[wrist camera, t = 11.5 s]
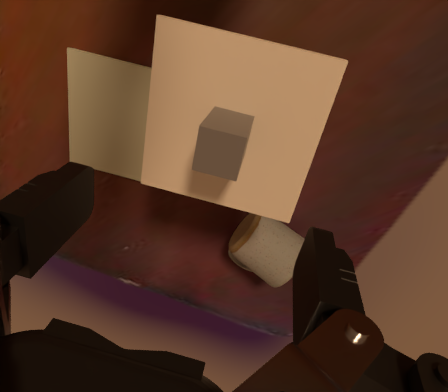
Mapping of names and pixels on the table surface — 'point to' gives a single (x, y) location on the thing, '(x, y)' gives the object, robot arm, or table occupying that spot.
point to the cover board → (244, 89)
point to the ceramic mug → (265, 248)
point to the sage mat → (107, 112)
